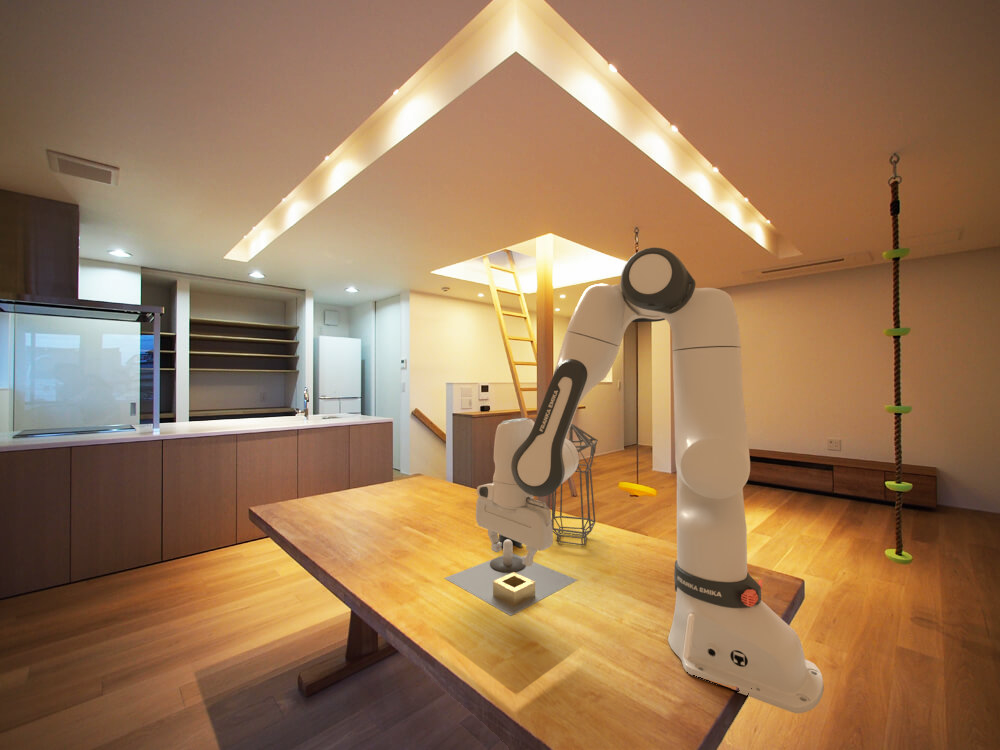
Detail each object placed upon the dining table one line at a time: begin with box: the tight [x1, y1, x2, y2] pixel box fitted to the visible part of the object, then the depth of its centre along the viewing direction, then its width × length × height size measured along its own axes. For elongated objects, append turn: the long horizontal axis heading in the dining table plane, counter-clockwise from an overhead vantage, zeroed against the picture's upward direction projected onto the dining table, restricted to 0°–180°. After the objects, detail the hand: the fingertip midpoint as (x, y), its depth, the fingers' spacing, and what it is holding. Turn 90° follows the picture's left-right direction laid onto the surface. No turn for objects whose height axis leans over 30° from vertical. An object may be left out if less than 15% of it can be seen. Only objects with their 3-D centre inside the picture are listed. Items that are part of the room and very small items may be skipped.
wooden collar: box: [493, 572, 535, 607], centre depth 88 cm, size 6×6×3 cm
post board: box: [444, 539, 578, 617], centre depth 96 cm, size 22×22×8 cm
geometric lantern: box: [547, 423, 599, 546], centre depth 126 cm, size 16×16×35 cm
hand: (511, 557), depth 89 cm, fingers open, 8 cm apart
